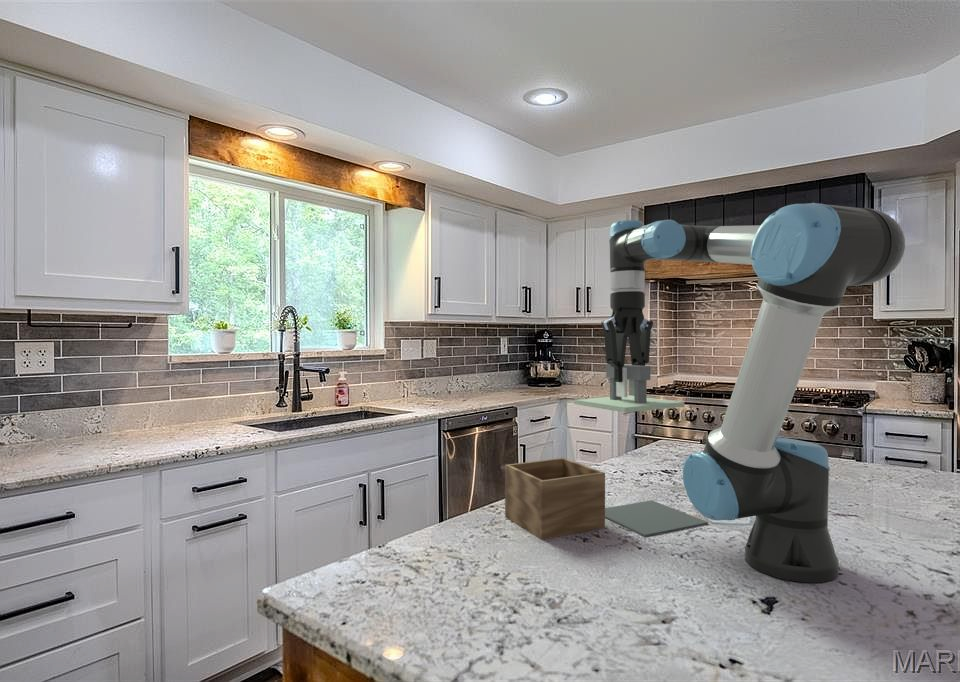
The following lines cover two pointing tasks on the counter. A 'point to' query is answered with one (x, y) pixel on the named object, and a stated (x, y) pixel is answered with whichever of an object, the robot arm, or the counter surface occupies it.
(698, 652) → the counter surface
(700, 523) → the mat
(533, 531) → the crate
